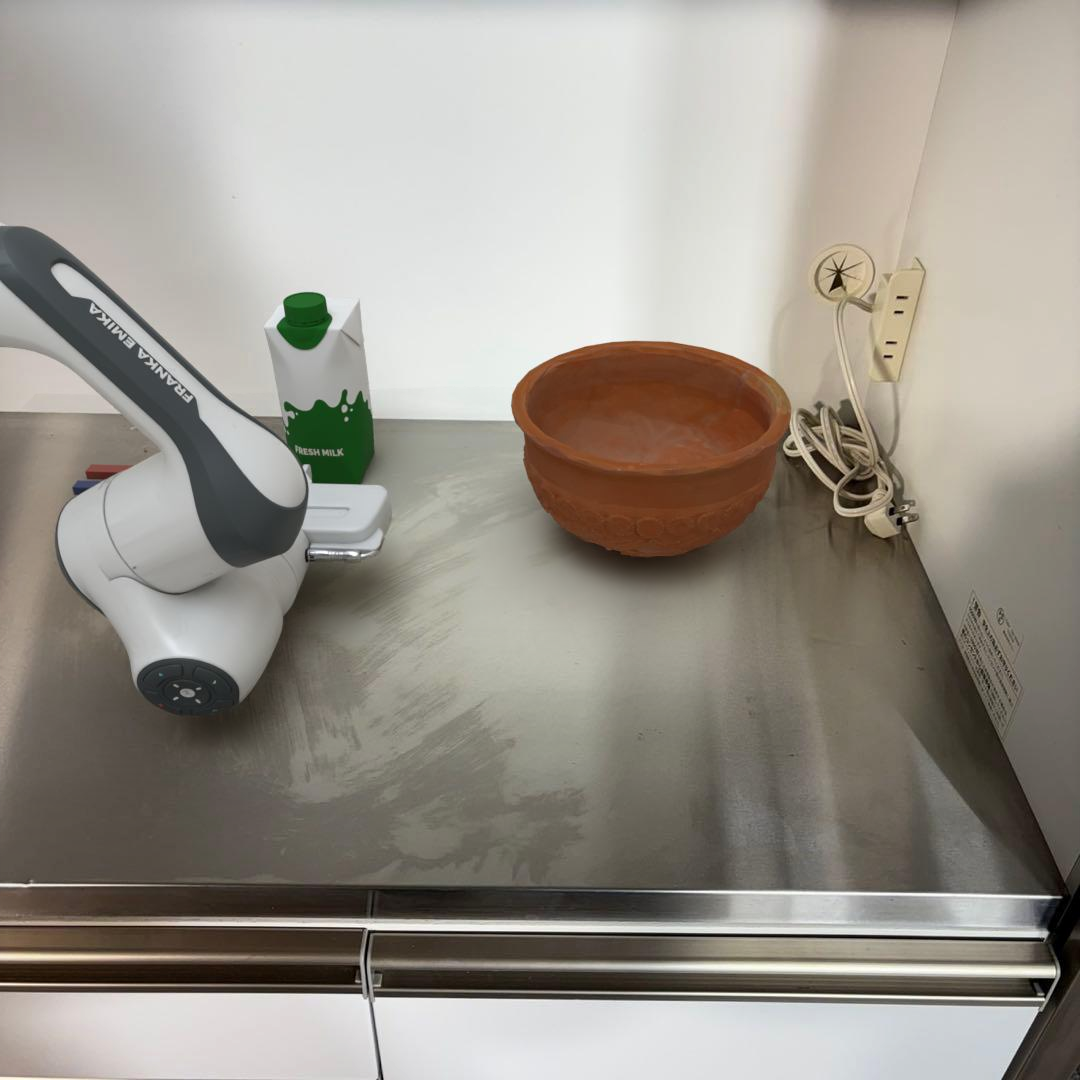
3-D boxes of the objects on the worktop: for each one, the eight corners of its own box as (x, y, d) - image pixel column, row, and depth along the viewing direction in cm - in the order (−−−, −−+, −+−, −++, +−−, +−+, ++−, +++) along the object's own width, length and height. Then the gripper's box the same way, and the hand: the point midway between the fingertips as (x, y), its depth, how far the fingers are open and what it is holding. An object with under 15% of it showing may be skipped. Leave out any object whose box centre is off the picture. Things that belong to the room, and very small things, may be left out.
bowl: (800, 606, 86) (829, 461, 77) (520, 618, 85) (517, 472, 76) (736, 462, 106) (754, 334, 98) (508, 470, 105) (505, 341, 96)
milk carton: (284, 487, 102) (250, 307, 91) (308, 444, 110) (280, 273, 98) (366, 491, 102) (342, 310, 90) (385, 448, 109) (365, 275, 97)
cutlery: (72, 496, 101) (69, 489, 100) (94, 470, 105) (91, 462, 105) (242, 501, 100) (240, 494, 100) (257, 474, 104) (255, 467, 104)
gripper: (373, 529, 78) (402, 443, 89) (125, 523, 79) (184, 438, 90) (381, 591, 82) (408, 500, 93) (144, 584, 83) (198, 495, 94)
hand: (296, 470), depth 92 cm, fingers closed
